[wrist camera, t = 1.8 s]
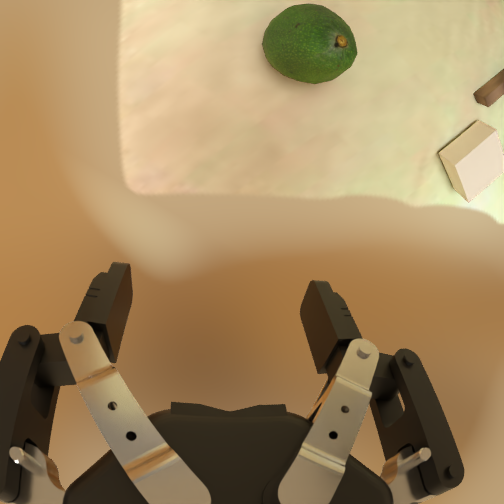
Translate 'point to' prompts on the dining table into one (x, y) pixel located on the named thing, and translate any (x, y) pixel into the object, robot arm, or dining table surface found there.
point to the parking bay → (491, 90)
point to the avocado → (309, 44)
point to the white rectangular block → (474, 160)
